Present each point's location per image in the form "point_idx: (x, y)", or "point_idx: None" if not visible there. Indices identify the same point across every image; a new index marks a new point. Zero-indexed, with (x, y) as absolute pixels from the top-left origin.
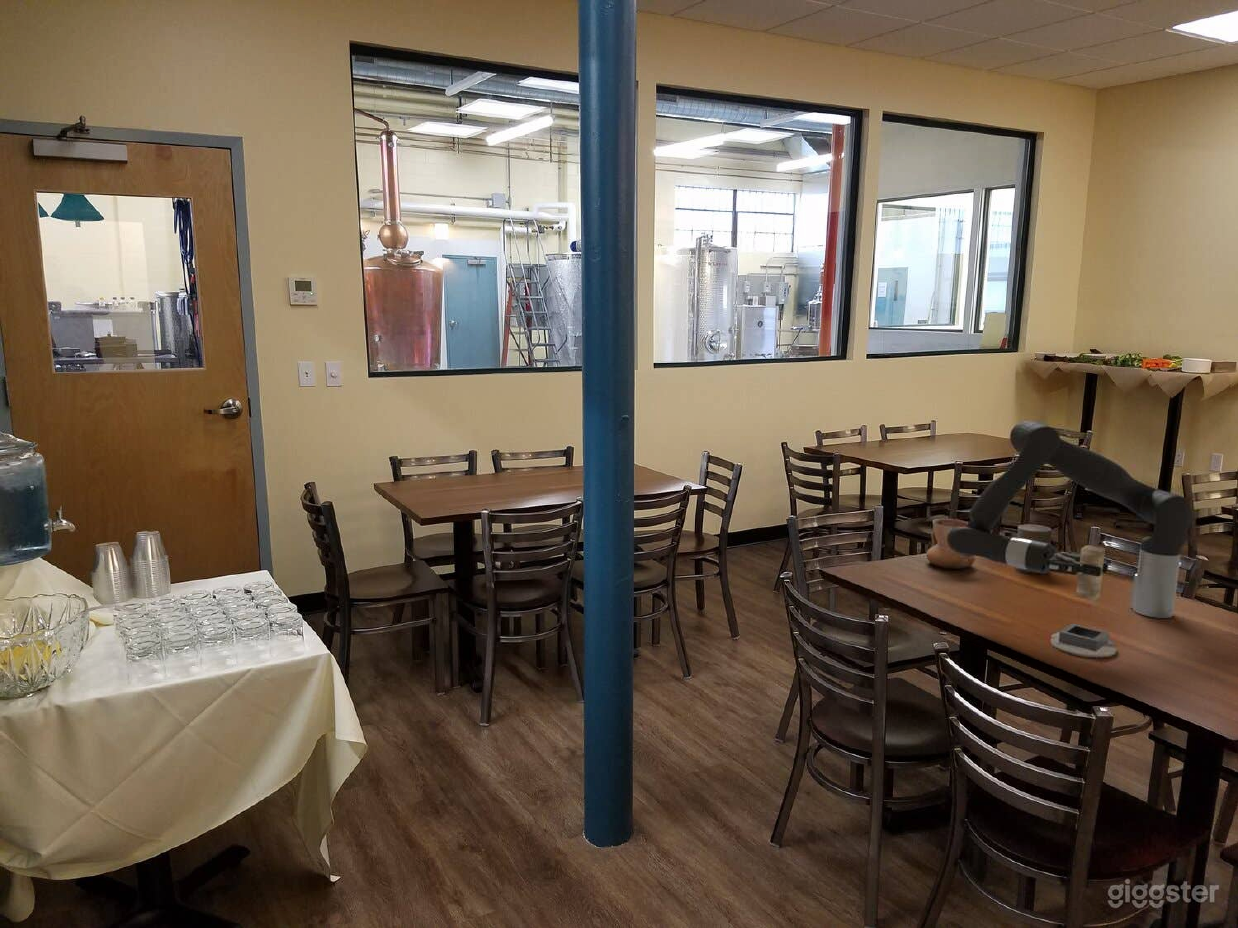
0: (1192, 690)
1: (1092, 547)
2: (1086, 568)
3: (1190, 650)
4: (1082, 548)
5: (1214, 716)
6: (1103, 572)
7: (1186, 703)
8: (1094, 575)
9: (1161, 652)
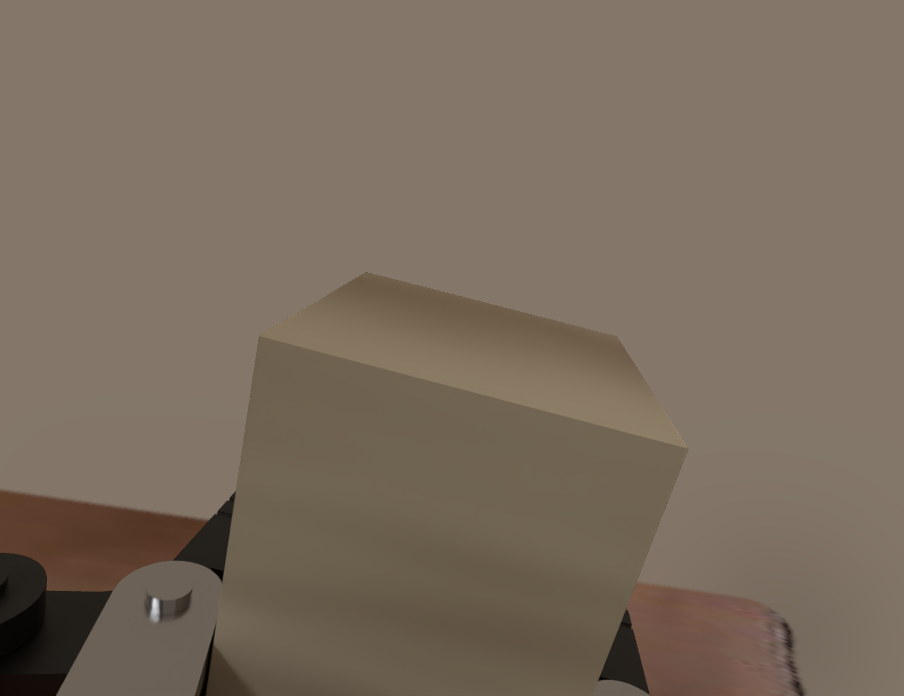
0: None
1: (419, 330)
2: (635, 679)
3: (98, 590)
4: (675, 440)
5: (688, 609)
6: None
7: (670, 657)
8: None
9: None
